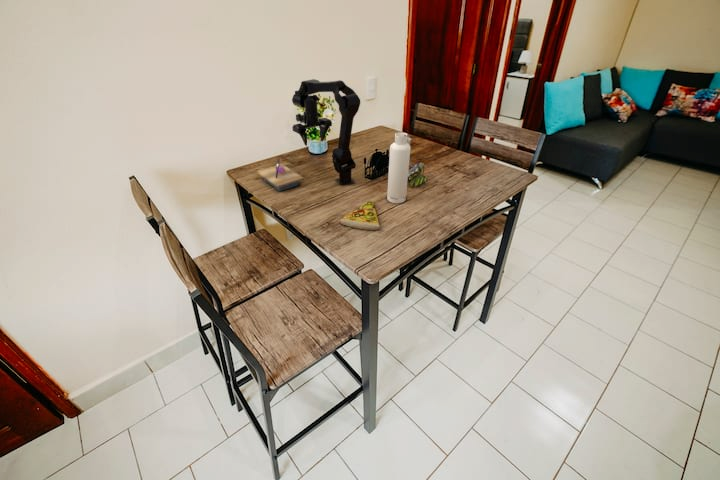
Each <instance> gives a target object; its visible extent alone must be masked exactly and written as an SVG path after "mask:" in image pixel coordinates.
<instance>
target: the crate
mask: <svg viewBox="0 0 720 480" xmlns="http://www.w3.org/2000/svg"><path fill="white" fill-rule="evenodd" d="M262 180H264V181H265V182H266V183H267V184H269V185H270V186H271V187H273V188H274V189H276V190H277V191H278V192H282V191H285V190H288V189H291V188H294V187H297V186H299V185H300V183H299V182H300V181H297V182H294V183H291V184H288V185H285V186H282V187H279V188H278V187H276V186H275V185H273V184H272V183H271V182H269V181H268V180H266V179H265V178H264V177H262Z"/></svg>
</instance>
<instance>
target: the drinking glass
mask: <svg viewBox="0 0 720 480" xmlns="http://www.w3.org/2000/svg"><path fill="white" fill-rule="evenodd" d="M407 143H408V144H409V145H410V146H411V143H412V138H411V137H409V136H407Z"/></svg>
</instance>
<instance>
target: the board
mask: <svg viewBox="0 0 720 480" xmlns="http://www.w3.org/2000/svg"><path fill="white" fill-rule="evenodd" d="M279 166H282V167H283V168H285V172H286V173H285V172H284V173H279V172H278V174H277V178H276V167H277V164H276V165H272V166H269V167H266V168H262V169H259V170H256V173H257V174H258V175H259V176H261V177H262V178H263V177H264V178H265V179H266V180H268V181H269V182H271V183H272V184H273V185H275V186H276V187H278V188H279V187H282V186H285V185H288V184H291V183H294V182H297V181H299V182H300V181H303V180H304V177H303V176H301V175H300V174H298V173H297V172H295V171H293V170H292V169H291V168H289V167H287V166H285V165H284V164H282V163H280V165H279Z"/></svg>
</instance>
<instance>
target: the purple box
mask: <svg viewBox="0 0 720 480" xmlns="http://www.w3.org/2000/svg"><path fill="white" fill-rule="evenodd" d="M280 160H281V159H280V156H278V159H277V162H276V165H277V167H276V178H277V174H278V172H279V173H284V172H285V168H283V167H282V166H279V165H280V164H281V163H280ZM285 173H286V172H285Z"/></svg>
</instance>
